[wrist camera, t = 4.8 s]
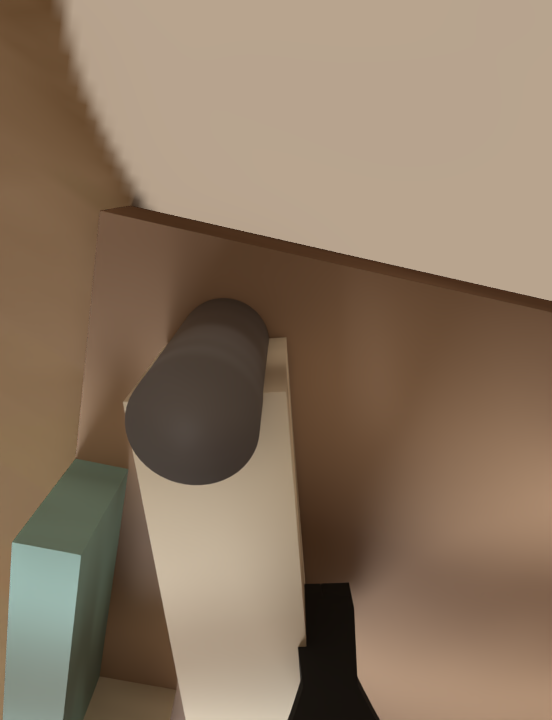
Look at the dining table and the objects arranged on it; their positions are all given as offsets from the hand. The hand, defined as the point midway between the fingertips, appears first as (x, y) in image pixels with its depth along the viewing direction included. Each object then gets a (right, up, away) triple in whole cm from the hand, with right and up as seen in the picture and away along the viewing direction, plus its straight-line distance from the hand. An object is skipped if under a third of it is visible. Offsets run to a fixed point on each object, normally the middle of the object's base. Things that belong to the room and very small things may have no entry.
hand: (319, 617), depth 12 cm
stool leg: (-2, +2, 0) cm, 3 cm away
